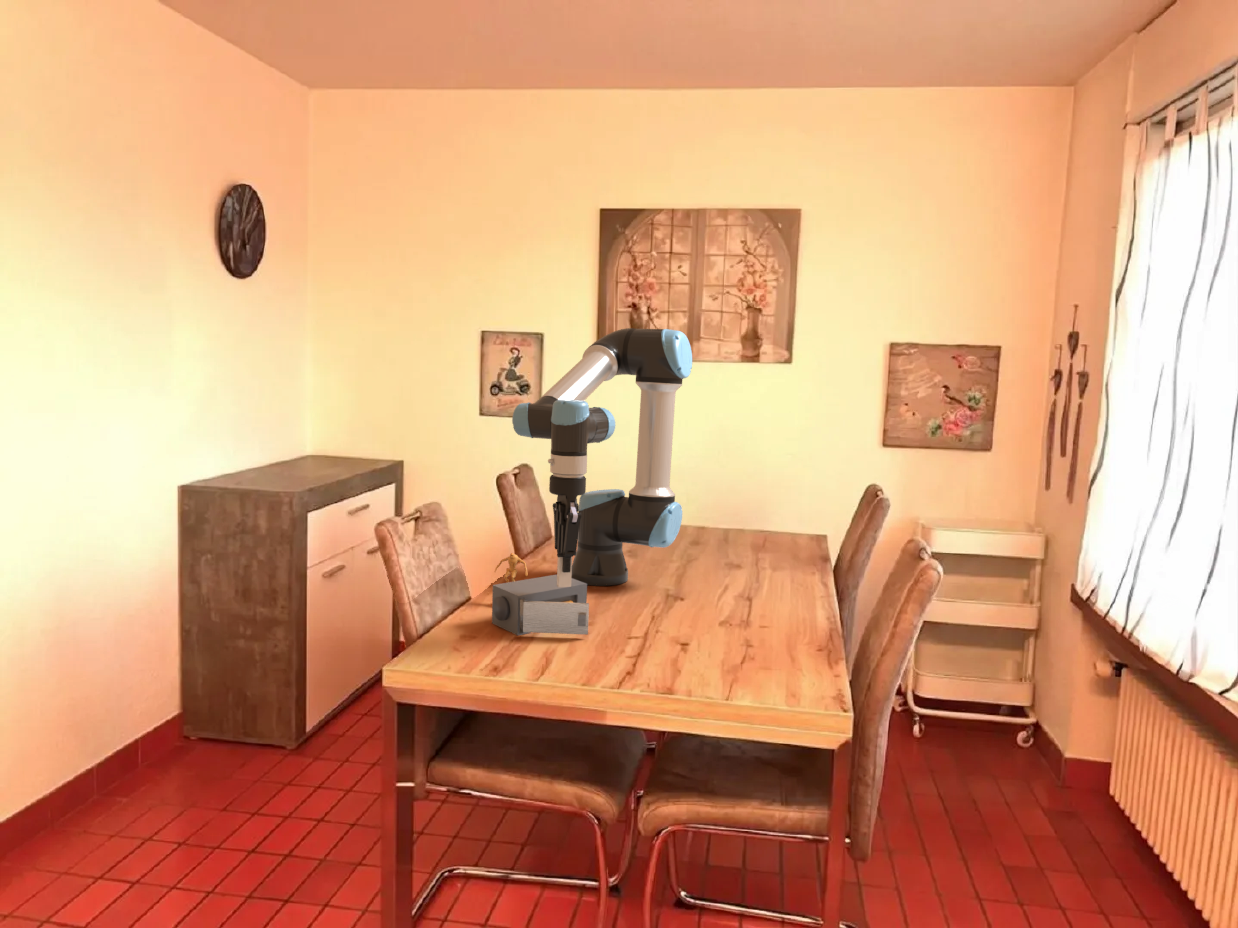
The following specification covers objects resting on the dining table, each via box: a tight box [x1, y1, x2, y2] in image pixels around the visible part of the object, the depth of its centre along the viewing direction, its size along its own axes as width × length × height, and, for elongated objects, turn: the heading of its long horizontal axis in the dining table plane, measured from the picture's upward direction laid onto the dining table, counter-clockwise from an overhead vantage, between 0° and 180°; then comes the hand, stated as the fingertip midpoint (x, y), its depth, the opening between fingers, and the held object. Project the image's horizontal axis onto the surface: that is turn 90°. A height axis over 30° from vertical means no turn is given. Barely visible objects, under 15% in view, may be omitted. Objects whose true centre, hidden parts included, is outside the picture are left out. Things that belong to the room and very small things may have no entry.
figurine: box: [494, 552, 528, 583], centre depth 216 cm, size 8×6×12 cm
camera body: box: [491, 574, 588, 636], centre depth 203 cm, size 19×10×8 cm, turn 130°
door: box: [519, 599, 590, 635], centre depth 193 cm, size 14×2×7 cm, turn 90°
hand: (563, 586), depth 195 cm, fingers closed
